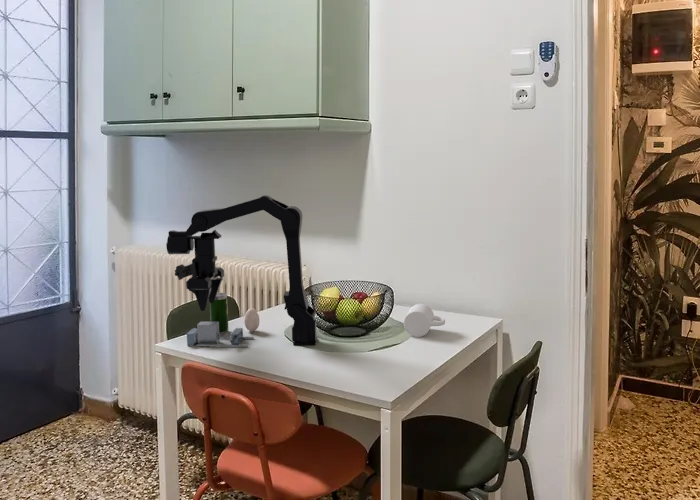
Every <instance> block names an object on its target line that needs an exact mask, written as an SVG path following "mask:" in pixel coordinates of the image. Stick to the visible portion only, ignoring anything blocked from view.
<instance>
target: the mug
mask: <svg viewBox="0 0 700 500" xmlns="http://www.w3.org/2000/svg"><path fill="white" fill-rule="evenodd" d="M445 324H446V319H445V318H443V317H441V316H438V315H434V312H433V310H432V308H431V307H430V306H429V305H427V304H424V303H416V304H414V305H413V306H412V307H411V308H410V309H409V311H408V312H407V314H406V316H405V317H404V320H403V327H404V331H405V332H406V333H407V334H408V335H409V336H411V337H414V338H421V337H424V336H425V335H426V334H428V332H429V330H430V329H431V327H441V326H444V325H445Z"/></svg>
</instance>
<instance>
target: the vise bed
mask: <svg viewBox="0 0 700 500" xmlns="http://www.w3.org/2000/svg"><path fill="white" fill-rule="evenodd" d="M219 337H220V340H231V336H219ZM254 339H255V337H254V336H243V340H254ZM186 344H187V345H194V346H196V348H198V347H197V346H214V347H213V348H216V347H215V346H219V347H218V348H249V344H239V345H231V344H219V343H218V344H198V333H197V328H196V327H193V328H191V329H190V330H189V331H188V332H187V333H186ZM187 345H186V346H187ZM220 346H221V347H220Z"/></svg>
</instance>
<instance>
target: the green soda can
mask: <svg viewBox="0 0 700 500" xmlns="http://www.w3.org/2000/svg"><path fill="white" fill-rule="evenodd" d="M228 308H229V307H228V296H227V293H225V292H217V295H216V297H215V300H214V303H210V302H209V314H210V315H209V317H210V318H209V319H210V321H209V322H219V335H225V334H227V333H228V332H229V310H228Z"/></svg>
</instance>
